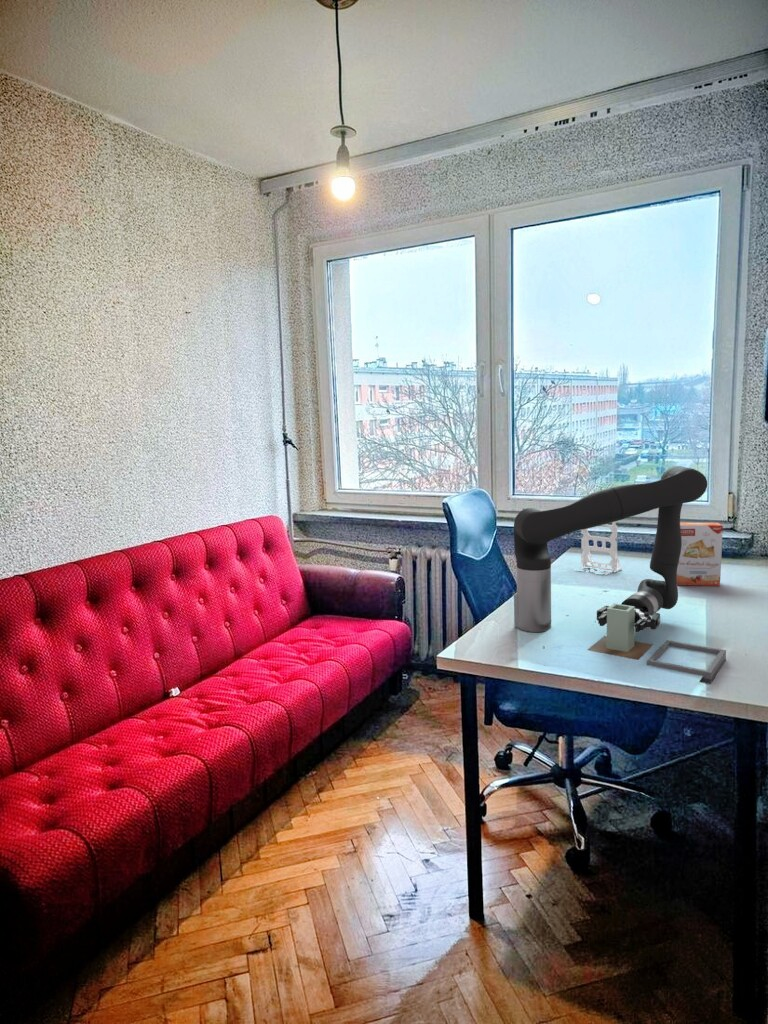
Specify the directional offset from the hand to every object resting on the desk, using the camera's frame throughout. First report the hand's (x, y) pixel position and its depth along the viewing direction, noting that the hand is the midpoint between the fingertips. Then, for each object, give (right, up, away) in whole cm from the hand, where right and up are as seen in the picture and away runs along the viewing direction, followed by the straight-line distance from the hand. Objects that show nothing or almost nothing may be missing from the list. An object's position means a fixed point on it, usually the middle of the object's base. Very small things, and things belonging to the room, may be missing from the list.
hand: (618, 625), depth 150 cm
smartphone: (+35, +1, +61) cm, 70 cm away
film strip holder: (+25, +5, +86) cm, 90 cm away
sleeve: (+1, -6, +2) cm, 6 cm away
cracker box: (+49, +3, +61) cm, 79 cm away
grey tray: (+13, -8, -7) cm, 17 cm away
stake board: (+1, -7, +2) cm, 8 cm away
